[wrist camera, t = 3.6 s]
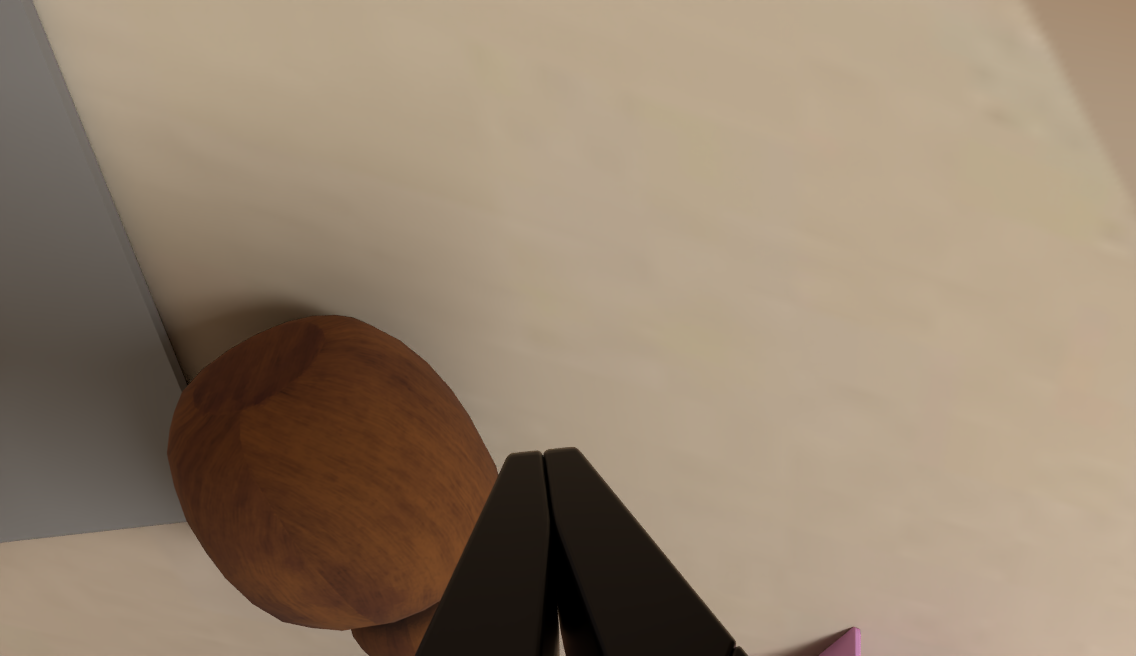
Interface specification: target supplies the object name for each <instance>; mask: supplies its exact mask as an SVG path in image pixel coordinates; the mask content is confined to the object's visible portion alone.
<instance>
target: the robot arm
mask: <svg viewBox="0 0 1136 656" xmlns="http://www.w3.org/2000/svg"><path fill="white" fill-rule="evenodd" d="M557 606H558V607H557ZM558 615H559V622H560V629H561V635H562V640H563V645H564V650H565V654H566V656H748V655H747V654H746V653H745V651H744V650H743V649H742V648H741V647H739V646H738V647H736V641H735V640H734V638H733V637H732V636H731V635H730V633H729V632H728V631H727V630H726V629H725V627H724V626H723V625H722V624H721V622H720V621H719V620H718V619H717V618H716V616H715V615H714V614H713V613H712V611H711V610H710V609H709V608H708V607H707V605H706V604H705V603H704V602H703V600H702V599H701V598H700V597H699V596H698V594H697V593H696V592H695V591H694V590H693V588H692V587H691V586H690V585H689V583H688V582H687V581H686V580H685V579H684V577H683V576H682V575H681V574H680V572H679V571H678V570H677V569H676V568H675V566H674V565H673V564H672V563H671V561H670V560H669V559H668V558H667V557H666V555H665V554H664V553H663V552H662V550H661V549H660V548H659V547H658V546H657V544H656V543H655V542H654V541H653V539H652V538H651V537H650V536H649V535H648V533H647V532H646V531H645V530H644V528H643V527H642V526H641V525H640V524H639V522H638V521H637V520H636V519H635V517H634V516H633V515H632V514H631V513H630V511H629V510H628V509H627V508H626V506H625V505H624V504H623V503H622V502H621V500H620V499H619V498H618V497H617V495H616V494H615V493H614V492H613V491H612V489H611V488H610V487H609V486H608V484H607V483H606V482H605V481H604V480H603V478H602V477H601V476H600V475H599V473H598V472H597V471H596V470H595V469H594V467H593V466H592V465H591V464H590V463H589V461H588V460H587V459H586V458H585V456H584V455H583V454H582V453H581V452H580V451H579V450H578V449H577V448H575V447H566V448H556V449H548V450H546V451H545V452H544V455H542V453H541V452H540V451H527V452H518V453H511V454H510V455H508V457H507V458H506V460H505V462H504V464H503V466H502V469H501V471H500V473H499V475H498V477H497V479H496V482H495V484H494V486H493V488H492V490H491V492H490V494H489V497H488V499H487V501H486V503H485V505H484V507H483V509H482V512H481V514H480V516H479V518H478V520H477V522H476V525H475V527H474V529H473V531H472V533H471V535H470V537H469V540H468V542H467V544H466V546H465V548H464V550H463V552H462V555H461V557H460V559H459V561H458V563H457V565H456V568H455V570H454V572H453V574H452V576H451V578H450V580H449V583H448V585H447V587H446V589H445V591H444V593H443V595H442V598H441V600H440V602H439V604H438V606H437V608H436V611H435V613H434V615H433V617H432V619H431V621H430V623H429V626H428V628H427V630H426V632H425V634H424V636H423V638H422V641H421V643H420V645H419V647H418V649H417V651H416V654H415V656H559V622H558Z"/></svg>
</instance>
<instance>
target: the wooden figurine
mask: <svg viewBox="0 0 1136 656" xmlns="http://www.w3.org/2000/svg"><path fill="white" fill-rule="evenodd" d="M167 457H168V461H169V466H170V470H171V475H172V479H173V484H174V487H175V490H176V493H177V496H178V499H179V502H180V504H181V507H182V510H183V513H184V516H185V518H186V521H187V522H188V524H189V526H190V527H191V529H192V531H193V532H194V534H195V535H196V537H197V539H198V540H199V542H200V543H201V545H202V547H203V548H204V550H205V551H206V553H207V555H208V556H209V557H210V558H211V560H212V561H213V562H214V564H215V565H216V566H217V568H218V569H219V570H220V572H221V573H222V574H223V576H224V577H225V578H226V579H227V580H228V581H229V582H230V583H231V584H232V585H233V586H234V587H235V588H236V589H237V590H239V591H240V592H241V593H242V594H243V595H244V596H245V597H246V598H247V599H248V600H249V601H250V602H251V603H252V604H254V605H255V606H257V607H259V608H260V609H262V610H264V611H265V612H267V613H269V614H271V615H272V616H274V617H276V618H277V619H279V620H281V621H282V622H286V623H291V624H296V625H300V626H305V627H310V628H319V629H330V630H341V631H343V630H349V629H351V631H352V634H353V637H354V639H355V640H356V641H357V643H358V644H359V645H360V647H361V648H362V649H363V650H364V651H365V652H366V653H367V654H368V655H369V656H415V654H416V651H417V649H418V647H419V645H420V643H421V641H422V638H423V636H424V634H425V632H426V630H427V628H428V626H429V623H430V621H431V619H432V617H433V615H434V613H435V611H436V608H437V606H438V604H439V602H440V600H441V598H442V595H443V593H444V591H445V589H446V587H447V585H448V583H449V580H450V578H451V576H452V574H453V572H454V570H455V568H456V565H457V563H458V561H459V559H460V557H461V555H462V552H463V550H464V548H465V546H466V544H467V542H468V540H469V537H470V535H471V533H472V531H473V529H474V527H475V525H476V522H477V520H478V518H479V516H480V514H481V512H482V509H483V507H484V505H485V503H486V501H487V499H488V497H489V494H490V492H491V490H492V488H493V486H494V484H495V482H496V479H497V477H498V472H497V468H496V465H495V463H494V461H493V460H492V458H491V456H490V454H489V452H488V450H487V448H486V446H485V444H484V443H483V441H482V439H481V437H480V435H479V433H478V431H477V429H476V428H475V426H474V424H473V422H472V420H471V418H470V416H469V415H468V413H467V412H466V410H465V409H464V407H463V406H462V404H461V403H460V401H459V400H458V399H457V397H456V396H455V394H454V393H453V391H452V390H451V389H450V387H449V386H448V385H447V384H446V383H445V382H444V381H443V380H442V379H441V377H440V376H439V375H438V374H437V373H436V372H435V371H434V370H433V368H432V367H431V366H430V365H429V364H428V363H427V362H426V361H425V360H423V359H422V358H421V357H420V356H419V355H417V354H416V353H415V352H414V351H412V350H411V349H410V348H409V347H407V346H406V345H405V344H404V343H402V342H401V341H400V340H398V339H396V338H394V337H392V336H390V335H388V334H387V333H385V332H383V331H381V330H379V329H377V328H375V327H373V326H371V325H369V324H367V323H365V322H362V321H360V320H358V319H355V318H353V317H346V316H338V315H325V316H310V317H306V318H301V319H297V320H292V321H288V322H285V323H282V324H280V325H277V326H275V327H273V328H270V329H268V330H266V331H263V332H261V333H259V334H257V335H254V336H252V337H251V338H249V339H247V340H245V341H244V342H242V343H240V344H238V345H237V346H235V347H233V348H231V349H230V350H228V351H227V352H225V353H224V354H223V355H221V356H220V357H219V358H217V359H216V360H215V361H213V362H212V363H210V364H209V365H208V366H206V367H205V368H204V369H202V371H201V372H200V373H199V374H198V375H197V376H196V377H195V378H194V379H193V380H192V382H191V383H190V384H189V385H188V386H187V387H186V388H185V389H184V390H183V391H182V393H181V396H180V398H179V401H178V403H177V406H176V408H175V411H174V414H173V418H172V422H171V426H170V430H169V438H168V447H167Z"/></svg>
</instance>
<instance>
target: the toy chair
mask: <svg viewBox="0 0 1136 656" xmlns="http://www.w3.org/2000/svg"><path fill="white" fill-rule="evenodd" d="M860 649H861V633H860V629H858V628H855V627H853V628H851V629H850V630H849V631H847V632H846V633H845V634H844V635H843V636H841V637H840V638H839V639H838V640H837V641H835V642H834V643H833V644H832V645H831V646H829V647H828V648H827V649H826V650H825V651H823V652H822V653H821V654H820V655H819V656H860Z"/></svg>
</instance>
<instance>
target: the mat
mask: <svg viewBox="0 0 1136 656" xmlns="http://www.w3.org/2000/svg"><path fill="white" fill-rule="evenodd" d="M186 387H187V383H186V381H185V378H184V376H183V373H182V371H181V368H180V366H179V363H178V361H177V358H176V356H175V353H174V351H173V348H172V346H171V344H170V341H169V339H168V336H167V334H166V331H165V329H164V326H163V324H162V321H161V319H160V316H159V314H158V311H157V309H156V306H155V304H154V301H153V299H152V296H151V294H150V291H149V289H148V286H147V284H146V282H145V279H144V277H143V274H142V272H141V269H140V267H139V264H138V262H137V259H136V257H135V254H134V252H133V249H132V247H131V244H130V242H129V239H128V237H127V234H126V232H125V229H124V227H123V224H122V222H121V219H120V217H119V215H118V212H117V210H116V207H115V205H114V202H113V200H112V197H111V195H110V192H109V190H108V187H107V185H106V182H105V180H104V177H103V175H102V172H101V170H100V167H99V165H98V162H97V160H96V157H95V155H94V153H93V150H92V148H91V145H90V143H89V140H88V138H87V135H86V133H85V130H84V128H83V125H82V123H81V120H80V118H79V115H78V113H77V110H76V108H75V105H74V103H73V100H72V98H71V95H70V93H69V90H68V88H67V86H66V83H65V81H64V78H63V76H62V73H61V71H60V68H59V66H58V63H57V61H56V58H55V56H54V53H53V51H52V48H51V46H50V43H49V41H48V38H47V36H46V33H45V31H44V28H43V26H42V24H41V21H40V19H39V16H38V14H37V11H36V9H35V6H34V4H33V1H32V0H0V543H2V542H11V541H20V540H29V539H38V538H47V537H56V536H65V535H73V534H82V533H91V532H100V531H109V530H118V529H127V528H136V527H145V526H154V525H162V524H171V523H180V522H187V521H186V518H185V516H184V513H183V510H182V507H181V504H180V502H179V499H178V496H177V493H176V490H175V487H174V484H173V479H172V475H171V470H170V466H169V461H168V457H167V447H168V438H169V430H170V426H171V422H172V418H173V414H174V411H175V408H176V406H177V403H178V401H179V398H180V396H181V393H182V391H183V390H184V389H185V388H186Z"/></svg>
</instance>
